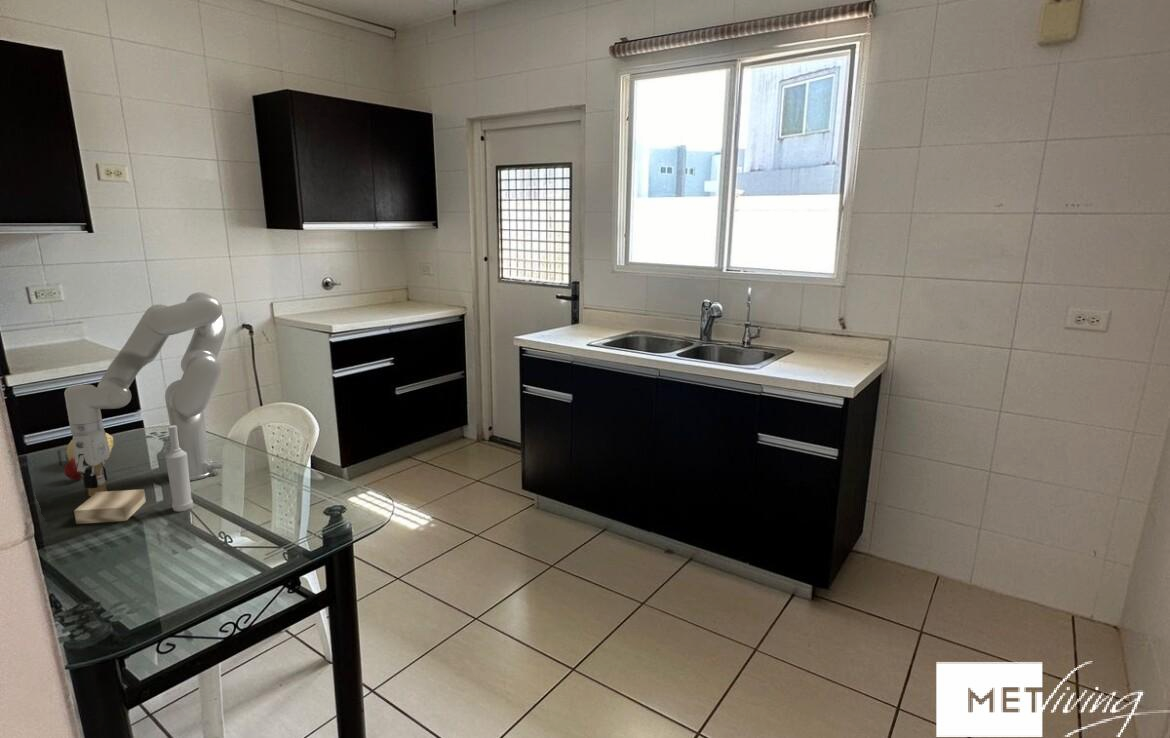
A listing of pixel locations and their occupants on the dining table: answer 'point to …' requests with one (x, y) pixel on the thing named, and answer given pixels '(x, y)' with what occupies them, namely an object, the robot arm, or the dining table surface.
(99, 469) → the sprinkles bottle
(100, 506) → the wooden base
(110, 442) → the sculpture
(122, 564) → the dining table surface
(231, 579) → the dining table surface
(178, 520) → the dining table surface
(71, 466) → the red rounded lump
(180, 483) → the bottle
